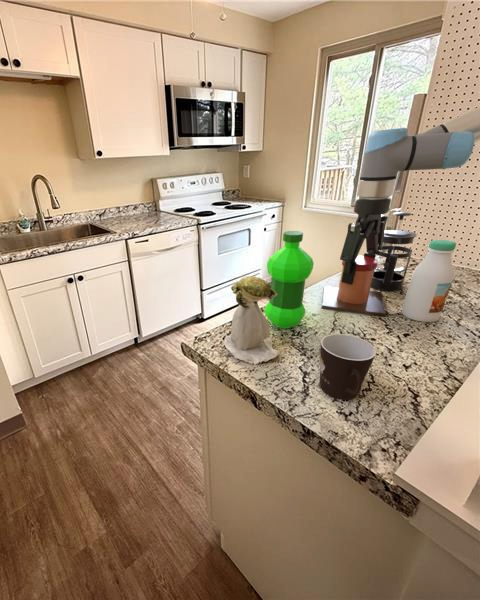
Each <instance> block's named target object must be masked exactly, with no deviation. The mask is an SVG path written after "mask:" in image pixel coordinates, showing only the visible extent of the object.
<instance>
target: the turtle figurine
mask: <svg viewBox="0 0 480 600" xmlns="http://www.w3.org/2000/svg"><path fill="white" fill-rule="evenodd" d="M230 289H231V291H232V294H234V295H235V302H236V303H237V304H238V306H237V308H236V309H235V310H234V313H233V315H232V318H231V327H230V328H231V331H230V333H231V334H230V335H226V336H225V337H224V339H223V343H224V347H225V348H226V349H227V350H228V351H229V353H230V354H231V355H232V356H233V357H234V358H235V359H238V360H240V361H244V362H245V363H249V364H250V365H252V364H253V365H254V366H256V365H257V364H259V363H262V362H263V363H266V362H268V361H270V360H273V359H275V358H277V357H278V356H280V351H279V350H276V349H274V348H273V339H272V338H273V335H272V336H271V331H272V327H271V324H270V323H271V322H270V323H269V320H268V318H267V317H266V315H264V313H263V311H262V309H261V308H260V306H261V304H258V302H259V301H262V300H264V299H267V300H270V299H272V298H273V297H274V296H276V295H277V294H276V292H275V291H274V290H273V289H272V288H271V283H269V282H268V281H267V280H265V279H263V278H261V277H258V276H254V275H251V276H250V275H249V276H243V277H242V278H241V279H240V280H237V281H236V282H235V283H233V284H232V286H231V288H230Z"/></svg>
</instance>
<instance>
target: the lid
mask: <svg viewBox="0 0 480 600" xmlns="http://www.w3.org/2000/svg"><path fill="white" fill-rule="evenodd" d="M341 261H342V262H341V265H342V267H343V266H344V265H345V261H343V260H341ZM355 262H357V265H356V269H355V270H362V271H366V270H373V269H376V267H377V264H378V263H379V261H378V260H377V259H376V258H375V259H374V258H371V257H367V256H364V255H358V256H357V258H356V260H355Z"/></svg>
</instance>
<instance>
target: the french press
mask: <svg viewBox="0 0 480 600" xmlns="http://www.w3.org/2000/svg"><path fill="white" fill-rule="evenodd" d="M392 215H394V216H397V217H398V216H399V217H398V220H399V223H398V226H397V230H396V229H389V230H387V229H386V230H385V233H384V240H383V244H386V245H383V247H382V250H381V254H380V255H378V254H376V256H379V257H382V258H383V257H384V258H385V259H384V260H385V261H383V262H378V264H377V267H376V269H375V271H374V275H373V279H372V284H371V288H370V289H374V290H377V291H380V292H382V291H383V292H399V291H401V290H403V288H404V282H405V278H406V275H407V271H408V268H409V264H410V260H411V257H412V253H413V250H412V249H411V248H409V247H406V246H402V245H409V244H413V242H414V239H415V238H416V237H418V235H417V233H416V232H413V231H409V230H400V227H401V225H402V221H403V220H404V217H408V216H409V217H410V216H412V213H411V212H405V211H398V212H393V213H392ZM387 244H388V245H387ZM400 245H401V246H400ZM384 250H385V251H386V250H387V252H384ZM395 251H399V252H404V253H395ZM406 258H407V262H406V265H402V264H399V263H397V262H398V259H406ZM400 273H403V274H400Z"/></svg>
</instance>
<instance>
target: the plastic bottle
mask: <svg viewBox="0 0 480 600" xmlns="http://www.w3.org/2000/svg"><path fill="white" fill-rule="evenodd" d="M303 239H304V232H303V231H300V230H287V231H284V232H283V235H282V241H283V242H284V246H283V247H281V248H280V249H278V250H277V251H276V252H275V253H274V254H272V255H271V256H269V259H268V260H267V262H266V270H267V271H266V272H267V274H269V276H270V277H271V280H270V288H272V289H273V290H274V291H275V292H276V294H277V295H276V296H274V297H273V298H272V299H269V300H268V303H267V304H266V306H265V307H264V313H265V317H266V318H267V320H268V321H270V323H272V324H273V325H274V326H275V327H278V328H280V329H290V328H293V327H295V326H297V325H299V324H300V323H301V321H302V320H303V319H304V316H305V314H306V308H305V306H304V304H303V300H304V293H305V286H306V280H307V279H309V277H310V276H311V274H312V272H313V269H314V260H313V258H312V256H311V255H310V254H308V252H306V251H305V250H304V249H302V247H300V243H302V242H303Z"/></svg>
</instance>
